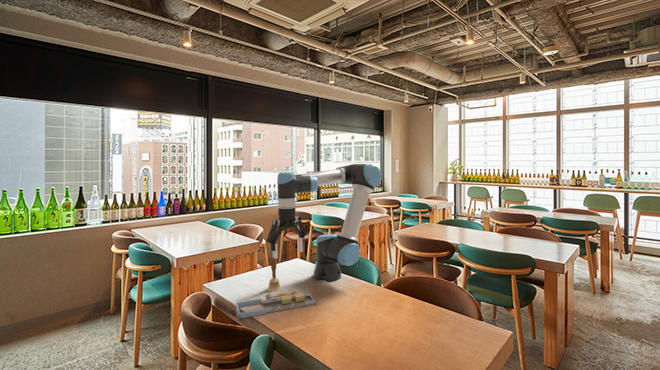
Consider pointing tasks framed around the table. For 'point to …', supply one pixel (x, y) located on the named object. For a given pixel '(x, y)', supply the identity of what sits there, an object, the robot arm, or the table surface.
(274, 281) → the hand bell
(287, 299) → the chip
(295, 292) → the hammer
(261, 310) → the tray
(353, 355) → the table surface
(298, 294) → the yellow square block
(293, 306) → the slot board
